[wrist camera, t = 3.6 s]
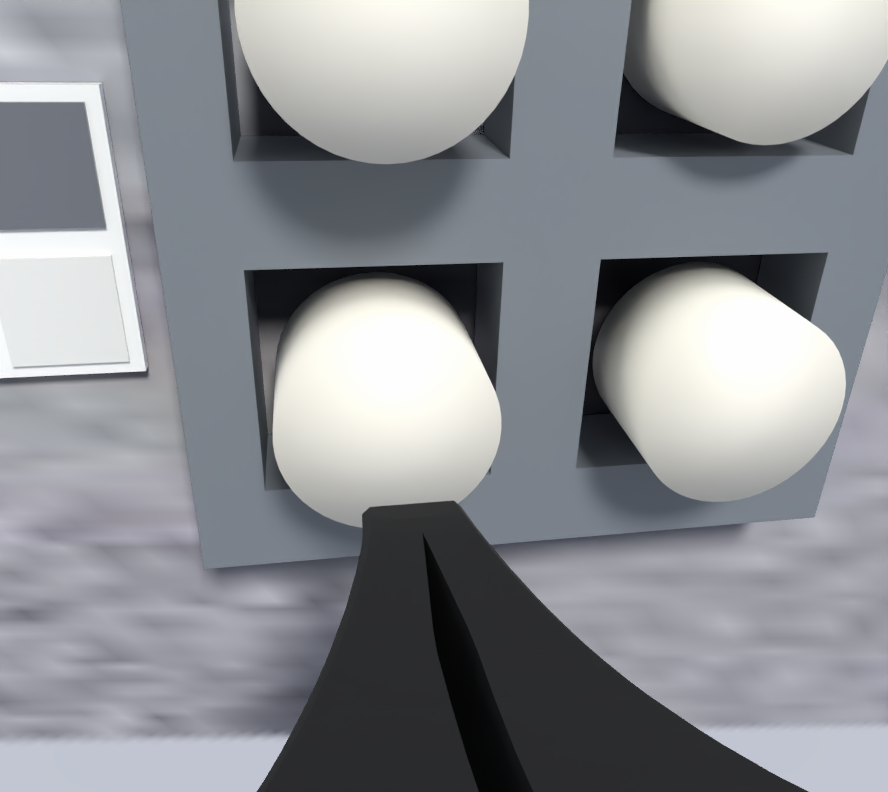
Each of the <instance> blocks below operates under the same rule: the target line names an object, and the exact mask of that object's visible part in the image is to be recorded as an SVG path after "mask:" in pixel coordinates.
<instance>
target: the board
mask: <svg viewBox="0 0 888 792" xmlns="http://www.w3.org/2000/svg"><path fill="white" fill-rule="evenodd" d="M120 1H121V8H122V15H123V22H124V29H125V35H126V42H127V49H128V56H129V63H130V69H131V76H132V83H133V90H134V97H135V103H136V110H137V117H138V124H139V131H140V137H141V144H142V151H143V158H144V164H145V171H146V178H147V185H148V192H149V198H150V205H151V212H152V219H153V226H154V232H155V239H156V246H157V253H158V260H159V266H160V273H161V280H162V287H163V294H164V300H165V307H166V314H167V321H168V327H169V334H170V341H171V348H172V355H173V361H174V368H175V375H176V382H177V389H178V395H179V402H180V409H181V416H182V423H183V429H184V436H185V443H186V450H187V457H188V463H189V470H190V477H191V484H192V491H193V497H194V504H195V511H196V518H197V524H198V531H199V538H200V545H201V552H202V558H203V565H204V569H212V568H223V567H235V566H247V565H259V564H270V563H282V562H294V561H306V560H317V559H329V558H341V557H353V556H360V551H361V545H362V536H363V533H362V528H361V527H355V526H350V525H346V524H343V523H340V522H337V521H334V520H332V519H330V518H328V517H325V516H323V515H321V514H320V513H318V512H317V511H315V510H313V509H312V508H310V507H309V506H308V505H307V504H305V503H304V502H303V501H302V500H301V499H300V498H299V497H298V496H297V495H296V494H295V493H294V492H293V491H292V490H291V488H290V487H289V485H288V484H287V483H286V481H285V480H284V478H283V476H282V474H281V472H280V470H279V467H278V464H277V461H276V458H275V454H274V448H273V434H268V429H267V418H266V407H265V396H264V385H263V374H262V363H261V352H260V341H259V330H258V319H257V308H256V297H255V286H254V275H253V270H268V269H301V268H334V267H367V266H399V265H432V264H465V263H478V268H477V290H476V313H475V335H474V347H475V349H476V351H477V353H478V356H479V358H480V360H481V362H482V364H483V366H484V368H485V371H486V373H487V375H488V377H489V379H490V381H491V383H492V385H493V388H494V390H495V392H496V395H497V398H498V401H499V405H500V411H501V436H500V442H499V446H498V449H497V453H496V456H495V458H494V460H493V462H492V465H491V467H490V468H489V470H488V472H487V473H486V475H485V476H484V478H483V479H482V480H481V482H480V483H479V484H478V485H477V487H476V488H475V489H474V490H473V491H472V492H471V493H470V494H469V495H468V496H467V497H466V498H464V499H463V500H462V501H461V502H459V503H458V504H459V505H460V506H461V507H462V509H463V510H464V512H465V513H466V514H467V516H468V517H469V518H470V520H471V521H472V522H473V524H474V525H475V526H476V528H477V529H478V530H479V531H480V533H481V534H482V535H483V536H484V538H485V539H486V540H487V541H488V543H489V544H490V545H494V544H506V543H517V542H529V541H541V540H553V539H564V538H576V537H588V536H600V535H611V534H623V533H635V532H647V531H658V530H670V529H682V528H694V527H705V526H717V525H729V524H741V523H752V522H764V521H776V520H788V519H799V518H811V517H814V516H815V513H816V510H817V506H818V503H819V499H820V496H821V493H822V489H823V486H824V482H825V479H826V476H827V472H828V469H829V465H830V462H831V459H832V455H833V452H834V448H835V445H836V442H837V438H838V435H839V431H840V428H841V424H842V421H843V418H844V414H845V411H846V407H847V404H848V401H849V397H850V394H851V390H852V387H853V384H854V380H855V377H856V373H857V370H858V367H859V363H860V360H861V356H862V353H863V350H864V346H865V343H866V339H867V336H868V332H869V329H870V326H871V322H872V319H873V315H874V312H875V309H876V305H877V302H878V298H879V295H880V292H881V288H882V285H883V281H884V278H885V275H886V271H887V268H888V60H887V62H886V63H885V65H884V67H883V69H882V70H881V72H880V73H879V75H878V76H877V78H876V79H875V81H874V82H873V84H872V85H871V86H870V87H869V89H868V90H867V91H866V92H865V93H864V95H863V96H862V97H861V98H860V99H859V100H858V101H857V102H856V103H855V104H854V105H853V106H852V107H851V108H850V109H849V110H848V111H847V112H845V113H844V114H843V115H842V116H840V117H839V118H838V119H837V120H835V121H834V122H832V123H831V124H829V125H828V126H826V127H825V128H823V129H821V130H819V131H817V132H815V133H813V134H811V135H809V136H807V137H804V138H801V139H798V140H795V141H792V142H787V143H783V144H775V145H755V144H748V143H744V142H739V141H736V140H734V139H731V138H729V137H726V136H724V135H721V134H719V133H684V134H616V127H617V119H618V110H619V102H620V94H621V85H622V77H623V69H624V60H625V52H626V43H627V35H628V27H629V18H630V10H631V1H632V0H529V19H528V27H527V35H526V40H525V44H524V49H523V53H522V57H521V60H520V62H519V65H518V68H517V70H516V73H515V76H514V78H513V80H512V82H511V84H510V85H509V87H508V89H507V91H506V93H505V95H504V96H503V98H502V99H501V101H500V102H499V104H498V105H497V107H496V108H495V109H494V110H493V112H492V113H491V114H490V115H489V116H488V117H487V119H486V120H485V121H484V135H468V136H467V137H466V138H464V139H463V140H461V141H460V142H458V143H457V144H455V145H454V146H452V147H450V148H448V149H446V150H444V151H442V152H440V153H438V154H435V155H432V156H430V157H427V158H424V159H421V160H416V161H411V162H407V163H398V164H373V163H365V162H360V161H355V160H350V159H347V158H344V157H341V156H338V155H335V154H333V153H331V152H329V151H327V150H325V149H323V148H321V147H318V146H317V145H315V144H314V143H312V142H311V141H309V140H307V139H306V138H304V137H303V136H241V132H240V121H239V110H238V99H237V88H236V77H235V66H234V55H233V44H232V33H231V22H230V11H229V0H120ZM761 254H763V255H762V260H761V264H760V269H759V274H758V278H757V283H756V285H758V286H759V287H761V288H762V289H763V290H765V291H766V292H768V293H769V294H771V295H772V296H773V297H775V298H776V299H778V300H779V301H781V302H782V303H783V304H785V305H786V306H788V307H789V308H791V309H792V310H793V311H795V312H796V313H798V314H799V315H801V316H802V317H803V318H805V319H806V320H808V321H809V322H811V323H812V324H813V325H815V326H816V327H818V328H819V329H820V330H822V331H823V332H824V333H825V334H826V335H827V336H828V337H829V338H830V339H831V340H832V341H833V343H834V344H835V346H836V348H837V349H838V351H839V353H840V356H841V358H842V361H843V365H844V369H845V377H846V389H845V398H844V402H843V406H842V410H841V413H840V415H839V418H838V421H837V423H836V425H835V427H834V429H833V431H832V433H831V434H830V436H829V437H828V439H827V440H826V442H825V443H824V445H823V446H822V447H821V448H820V450H819V451H818V452H817V454H816V455H815V456H814V457H813V458H812V459H811V460H810V461H809V462H808V463H807V464H806V465H805V466H803V467H802V468H801V469H800V470H799V471H798V472H796V473H795V474H794V475H792V476H791V477H789V478H788V479H787V480H785V481H783V482H782V483H780V484H778V485H777V486H775V487H773V488H771V489H769V490H767V491H764V492H762V493H759V494H757V495H754V496H751V497H748V498H743V499H739V500H734V501H726V502H708V501H700V500H695V499H691V498H688V497H685V496H683V495H680V494H678V493H676V492H675V491H673V490H671V489H670V488H668V487H667V486H666V485H665V484H664V483H662V482H661V481H660V479H659V478H658V477H657V476H656V475H655V474H654V472H653V471H652V469H651V468H650V466H649V465H648V464H647V462H646V461H645V459H644V458H643V457H642V455H641V454H640V452H639V451H638V449H637V448H636V447H635V445H634V444H633V442H632V441H631V439H630V438H629V437H628V435H627V434H626V432H625V431H624V430H623V428H622V427H621V425H620V424H619V422H618V421H617V420H616V418H615V417H614V415H613V414H595V415H582V412H583V404H584V396H585V387H586V379H587V370H588V362H589V354H590V345H591V337H592V328H593V320H594V312H595V303H596V295H597V287H598V278H599V270H600V261H601V259H629V258H662V257H695V256H728V255H761Z"/></svg>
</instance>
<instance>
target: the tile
mask: <svg viewBox="0 0 888 792" xmlns="http://www.w3.org/2000/svg"><path fill="white" fill-rule="evenodd" d="M147 367H148V361H147V355H146V349H145V343H144V336H143V330H142V324H141V318H140V312H139V306H138V300H137V294H136V288H135V282H134V275H133V269H132V263H131V257H130V251H129V245H128V239H127V233H126V227H125V220H124V214H123V208H122V202H121V196H120V190H119V184H118V178H117V172H116V166H115V159H114V153H113V147H112V141H111V135H110V129H109V123H108V117H107V111H106V105H105V98H104V92H103V86H102V83H48V82H0V378H13V377H34V376H55V375H75V374H96V373H117V372H138V371H146V370H147Z"/></svg>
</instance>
